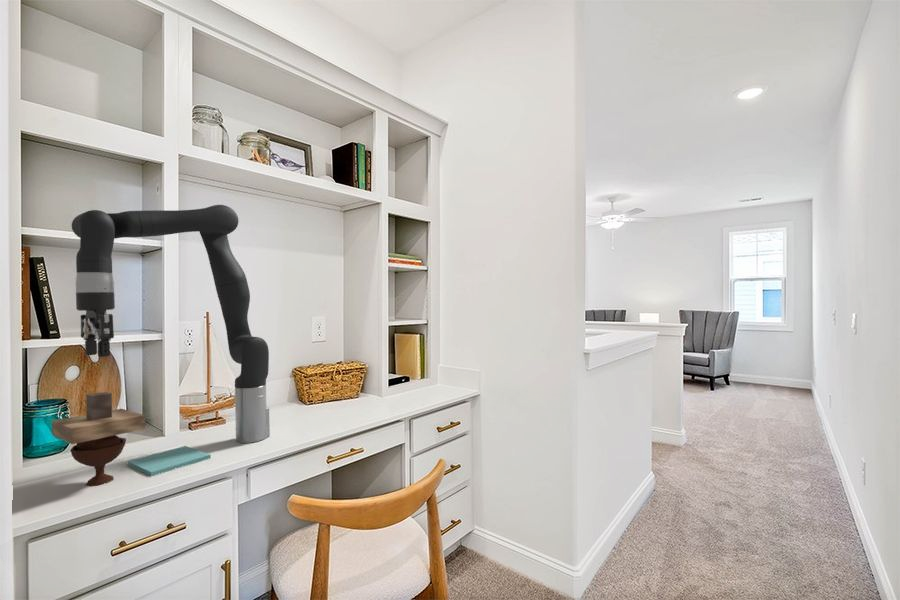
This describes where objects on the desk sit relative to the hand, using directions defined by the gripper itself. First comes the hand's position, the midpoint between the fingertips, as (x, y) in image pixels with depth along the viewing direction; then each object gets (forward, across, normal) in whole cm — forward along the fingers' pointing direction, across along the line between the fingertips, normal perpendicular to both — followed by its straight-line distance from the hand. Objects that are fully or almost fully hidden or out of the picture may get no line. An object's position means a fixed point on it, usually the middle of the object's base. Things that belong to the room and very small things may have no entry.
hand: (97, 355), depth 111 cm
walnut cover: (+19, 0, 0) cm, 19 cm away
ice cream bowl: (+32, 0, 0) cm, 32 cm away
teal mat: (+32, 0, -16) cm, 35 cm away
